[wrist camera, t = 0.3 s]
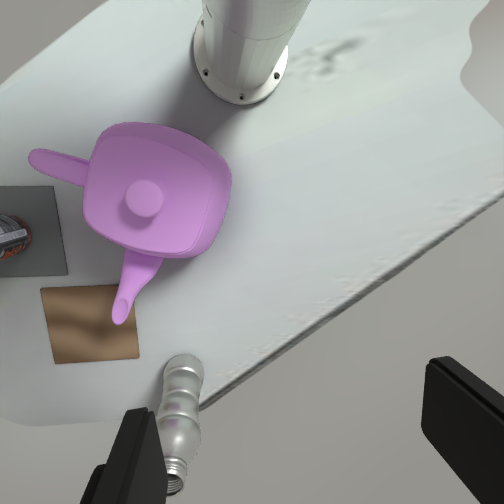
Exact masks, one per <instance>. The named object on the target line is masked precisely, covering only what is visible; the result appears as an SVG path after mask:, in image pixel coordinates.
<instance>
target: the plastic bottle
mask: <svg viewBox="0 0 504 504" xmlns="http://www.w3.org/2000/svg"><path fill="white" fill-rule="evenodd" d="M203 380H204V370H203V366H202V364H201V362H200V361H199V360H198V359H197V358H196V357H194V356H192V355H189V354H181V355H178V356H175V357H174V358H172V359H171V360H170V361H169V362H168V364H167V366H166V367H165V370H164V374H163V395H162V400H161V404H160V407H159V410H158V413H157V416H156V418H155V419H156V424H157V428H158V433H159V437H160V442H161V447H162V451H163V456H164V460H165V465H166V469H167V474H168V489H167V496H166V498H171V497H174V496H177V495H178V494H180V493H181V492H182V491H183V489H184V486H185V479H186V476H187V469H188V468H187V465H188V464H189V463H190V462H191V461H192V460H193V459H194V457H195V456H196V454H197V452H198V450H199V447H200V444H201V432H200V423H199V396H200V390H201V387H202V384H203Z"/></svg>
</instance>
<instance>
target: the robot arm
mask: <svg viewBox="0 0 504 504" xmlns="http://www.w3.org/2000/svg"><path fill="white" fill-rule="evenodd" d="M310 1H311V0H202V8H203V14H202V15H201V17H200V19H199V21H198V23H197V26H196V29H195V34H194V43H193V50H194V58H195V62H196V66H197V69H198V72H199V74H200V76H201V78H202V80H203V81H204V83H205V84H206V86H207V87H208V88H209V89H210V90H211V91H212V92H213V93H214V94H215V95H217V96H218V97H219V98H221V99H223V100H225V101H227V102H230V103H233V104H239V105H247V104H253V103H256V102H259V101H261V100H263V99H264V98H266V97H267V96H269V95H270V94H271V93H272V92H273V91H274V90H275V88H276V87H277V86H278V84H279V83H280V81H281V79H282V77H283V75H284V72H285V70H286V66H287V61H288V42H289V40H290V38H291V37H292V35H293V33H294V31H295V29H296V27H297V26H298V24H299V22H300V20H301V18H302V16H303V14H304V12H305V11H306V9H307V7H308V5H309V3H310ZM203 25H204V27H203ZM205 73H208V76H205V75H204V74H205ZM274 76H276V77H277V79H275V78H274ZM240 97H243V100H240ZM421 428H422V431H423V433H424V435H425V436H426V438H427V439H428V440H429V441H430V443H431V444H432V445H433V446H434V448H435V449H436V450H437V451H438V452H439V454H440V455H441V456H442V457H443V458H444V460H445V461H446V462H447V463H448V464H449V466H450V467H451V468H452V469H453V471H454V472H455V473H456V474H457V476H458V477H459V478H460V479H461V480H462V482H463V483H464V484H465V485H466V487H467V488H468V489H469V490H470V491H471V492H472V494H473V495H474V496H475V498H477V500H478V501H479V502H480V504H504V397H503V396H502V395H501V394H500V393H498V392H497V391H496V390H494V389H493V388H491V387H490V386H489V385H488V384H486V383H485V382H484V381H482V380H481V379H480V378H478V377H477V376H476V375H474V374H473V373H472V372H470V371H469V370H468V369H466V368H465V367H464V366H462V365H461V364H460V363H458V362H457V361H456V360H454V359H453V358H451V357H449V356H444V357H439V358H433V359H431V360H430V361H429V364H427V366H426V372H425V384H424V396H423V408H422V420H421ZM167 489H168V474H167V469H166V465H165V460H164V456H163V451H162V447H161V442H160V437H159V433H158V428H157V424H156V419H155V415H154V412H153V411H150V412H148V409H147V407H144V408H138V409H132V410H128V411H126V413H125V416H124V418H123V421H122V423H121V426H120V429H119V431H118V434H117V436H116V439H115V442H114V444H113V447H112V450H111V452H110V455H109V458H108V460H107V463H106V464H102V465H98V466H97V467H96V468H95V470H94V471H93V473H92V475H91V477H90V480H89V482H88V485H87V487H86V489H85V492H84V495H83V497H82V499H81V501H80V504H165V502H166V496H167Z"/></svg>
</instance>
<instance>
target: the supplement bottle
mask: <svg viewBox="0 0 504 504" xmlns="http://www.w3.org/2000/svg"><path fill="white" fill-rule="evenodd" d="M30 241H31V233H30V229H29V227H28V226H27V224H26V223H25V222H24V221H23V220H22V219H20V218H19V217H17V216H15V215H12V214H6V213H0V260H3V259H6V258H8V257H11V256H13V255H16V254H18V253H20V252H22V251H24V250H25V249H26V248H27V247H28V246H29V244H30Z"/></svg>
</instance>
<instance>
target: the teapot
mask: <svg viewBox="0 0 504 504" xmlns="http://www.w3.org/2000/svg"><path fill="white" fill-rule="evenodd" d="M28 161H29V163H30V165H31V166H32V167H33V168H34V169H35V170H37V171H39V172H41V173H44V174H46V175H49V176H52V177H55V178H58V179H60V180H64V181H67V182H70V183H73V184H76V185H79V186H82V187H84V196H83V216H84V219H85V221H86V222H87V224H88V225H89V226H90V227H91V228H92V229H93V230H94V231H95V232H97V233H98V234H100V235H101V236H103V237H105V238H107V239H108V240H110V241H112V242H114V243H116V244H118V245H120V246H122V247H125V255H124V260H123V266H122V273H121V279H120V284H119V287H118V291H117V294H116V297H115V300H114V303H113V307H112V320H113V322H114V324H116V325H120V324H122V323H123V322H124V321H125V320H126V318H127V317H128V314H129V312H130V309H131V307H132V304H133V302H134V300H135V298H136V296H137V294H138V293H139V292H140V290H141V289H142V288H143V287H144V286H145V285H146V284H147V283H148V282H149V281H150V280H151V279H152V278H153V277H154V276H155V274H156V273H157V271H158V270H159V268H160V266H161V264H162V262H163V260H164V258H189V257H193V256H197V255H199V254H201V253H203V252H204V251H206V250H207V249H208V248H209V247H210V245H211V244H212V243H213V241H214V239H215V237H216V235H217V233H218V231H219V229H220V226H221V224H222V222H223V219H224V216H225V213H226V210H227V206H228V201H229V196H230V190H231V184H232V178H231V172H230V168H229V166H228V164H227V163H226V161H225V160H224V159H223V158H222V157H221V156H220V155H219V154H218V153H217V152H216V151H214V150H213V149H212V148H210V147H209V146H208V145H206V144H205V143H203V142H202V141H200V140H199V139H197V138H195V137H193V136H191V135H189V134H187V133H185V132H182V131H180V130H177V129H174V128H171V127H167V126H163V125H158V124H151V123H140V122H124V123H119V124H115V125H113V126H111V127H109V128H107V129H106V130H105V131H103V132H102V134H101V135H100V137H99V138H98V140H97V142H96V145H95V148H94V150H93V153H92V156H91V159H90V161H88V160H84V159H80V158H77V157H73V156H70V155H66V154H62V153H58V152H54V151H50V150H46V149H34V150H32V151H31V152H30V153H29V156H28Z"/></svg>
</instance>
